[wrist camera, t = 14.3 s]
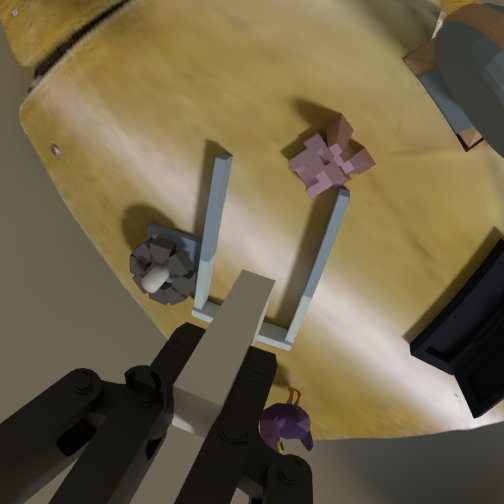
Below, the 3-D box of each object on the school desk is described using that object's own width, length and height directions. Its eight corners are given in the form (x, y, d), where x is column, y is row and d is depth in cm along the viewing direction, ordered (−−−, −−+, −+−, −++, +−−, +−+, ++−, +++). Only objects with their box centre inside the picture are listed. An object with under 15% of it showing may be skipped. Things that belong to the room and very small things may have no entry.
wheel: (137, 229, 42) (129, 235, 40) (198, 250, 41) (192, 258, 39) (137, 282, 47) (130, 289, 45) (192, 305, 46) (186, 313, 44)
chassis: (157, 138, 38) (122, 150, 32) (349, 191, 35) (349, 214, 28) (149, 283, 51) (124, 310, 44) (293, 337, 47) (282, 373, 41)
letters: (319, 199, 36) (314, 217, 31) (284, 151, 35) (273, 161, 30) (376, 164, 33) (382, 177, 28) (342, 112, 31) (341, 115, 26)
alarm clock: (524, 119, 23) (620, 152, 8) (469, 159, 28) (550, 218, 13) (455, 12, 21) (528, -35, 6) (396, 52, 26) (441, 15, 11)
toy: (284, 440, 51) (314, 450, 47) (241, 446, 44) (272, 461, 39) (297, 386, 54) (328, 394, 50) (255, 384, 47) (288, 394, 42)
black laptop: (499, 237, 31) (531, 278, 23) (554, 290, 31) (580, 331, 22) (409, 343, 42) (414, 394, 34) (471, 375, 42) (481, 421, 33)
